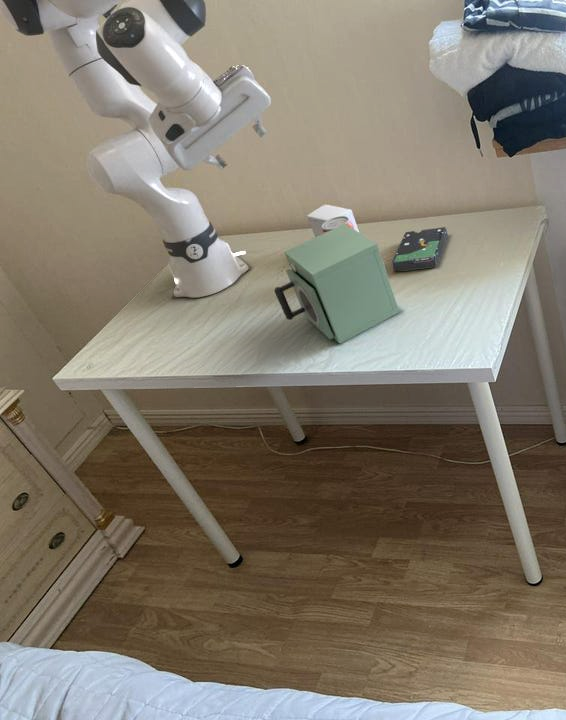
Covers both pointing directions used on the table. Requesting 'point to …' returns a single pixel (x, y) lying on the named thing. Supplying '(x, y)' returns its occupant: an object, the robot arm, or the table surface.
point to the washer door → (304, 303)
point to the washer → (345, 280)
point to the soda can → (336, 223)
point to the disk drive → (420, 249)
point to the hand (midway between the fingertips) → (243, 149)
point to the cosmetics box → (328, 217)
